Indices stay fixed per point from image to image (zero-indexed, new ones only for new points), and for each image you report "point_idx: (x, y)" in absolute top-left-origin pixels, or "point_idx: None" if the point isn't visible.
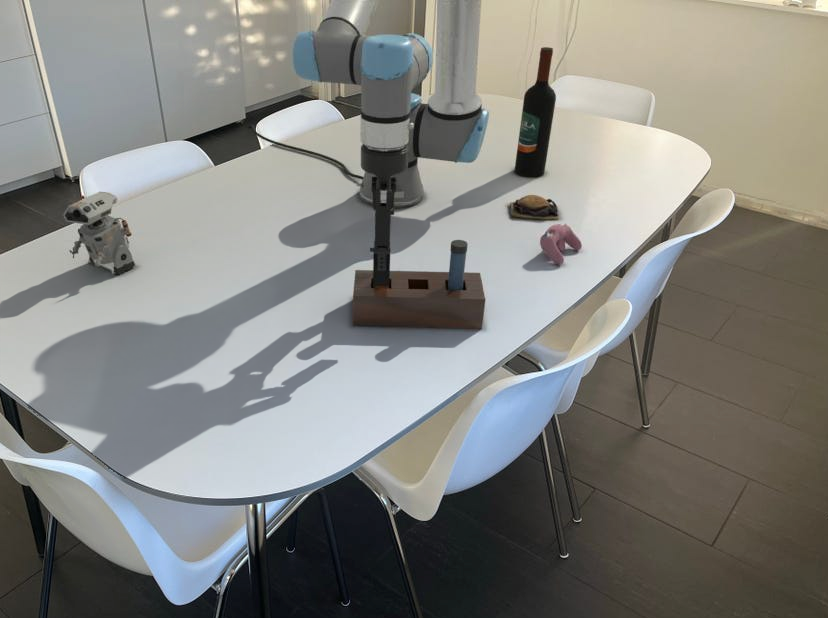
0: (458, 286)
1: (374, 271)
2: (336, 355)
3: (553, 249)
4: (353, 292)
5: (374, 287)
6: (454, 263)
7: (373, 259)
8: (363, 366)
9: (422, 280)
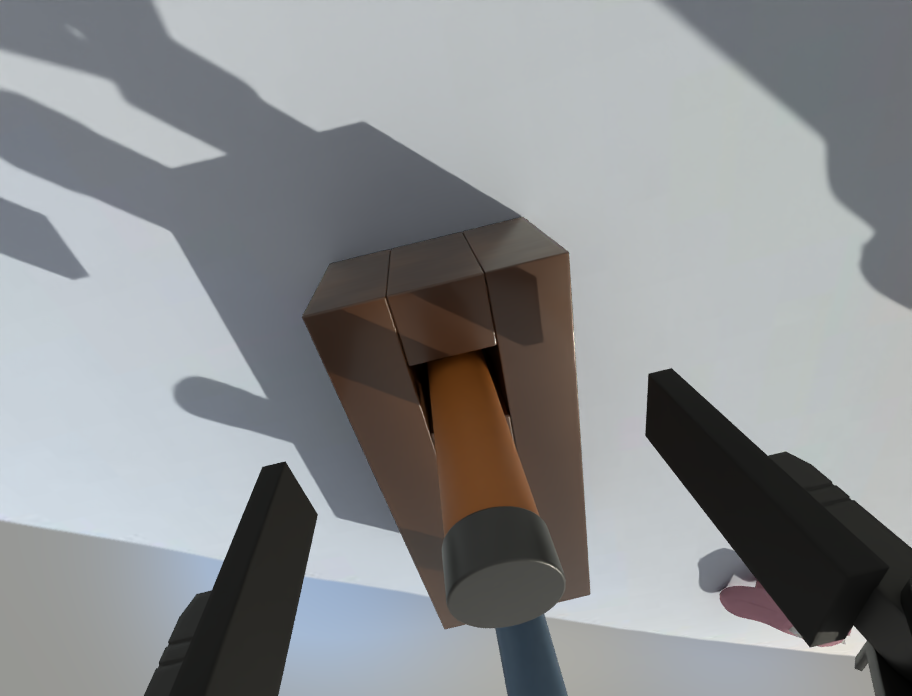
0: None
1: (235, 550)
2: (112, 262)
3: (753, 615)
4: (339, 307)
5: (439, 365)
6: (506, 669)
7: (190, 643)
8: (114, 361)
9: None
